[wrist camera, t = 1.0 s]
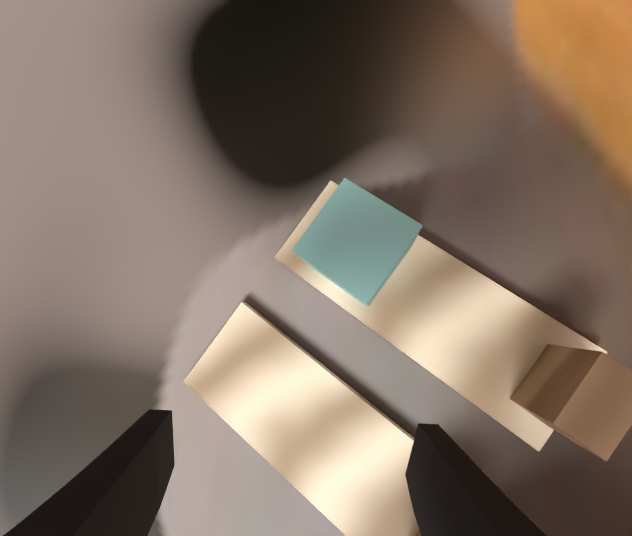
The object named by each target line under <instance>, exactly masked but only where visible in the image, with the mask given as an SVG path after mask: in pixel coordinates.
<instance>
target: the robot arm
mask: <svg viewBox="0 0 632 536" xmlns="http://www.w3.org/2000/svg"><path fill="white" fill-rule="evenodd" d="M173 468H174V447H173V425H172V411H170V410H148V411H147V412H146V413H145V414H144V415H143V416H141V417H140V418H139V419H138V420H137V421H136V422H135V423H134V424H133V425H132V426H131V427H130V428H128V429H127V430H126V431H125V432H124V433H123V434H122V435H121V436H120V437H119V438H118V439H117V440H115V441H114V442H113V443H112V444H111V445H110V446H109V447H108V448H107V449H106V450H105V451H103V452H102V453H101V454H100V455H99V456H98V457H97V458H96V459H94V460H93V461H92V462H91V463H90V464H89V465H88V466H86V467H85V468H84V469H83V470H82V471H81V472H80V473H79V474H77V475H76V476H75V477H74V478H73V479H72V480H71V481H69V482H68V483H67V484H66V485H65V486H63V488H61V489H60V490H59V491H58V492H56V493H55V494H54V495H53V496H51V497H50V498H49V499H48V500H47V501H46V502H44V503H43V504H42V505H41V506H39V507H38V508H37V509H36V510H35V511H33V512H32V513H31V514H30V515H28V516H27V517H26V518H25V519H24V520H23V521H21V522H20V523H19V524H17V525H16V526H15V527H14V528H13V529H11V530H10V531H9V532H7V533H6V534H5V535H3V536H147V535H148V533H149V531H150V528H151V526H152V524H153V522H154V520H155V517H156V515H157V513H158V510H159V508H160V506H161V503H162V500H163V497H164V494H165V491H166V489H167V486H168V483H169V480H170V477H171V474H172V471H173ZM405 476H406V481H407V485H408V490H409V494H410V499H411V503H412V507H413V511H414V515H415V518H416V521H417V524H418V527H419V530H420V533H421V536H546V535H545V534H544V533H543V532H542V531H541V530H540V529H539V528H538V527H537V526H536V525H535V524H534V523H533V522H532V521H531V520H530V519H529V518H528V517H527V516H525V515H524V514H523V513H522V512H521V511H520V510H519V509H518V508H517V507H516V506H515V505H514V504H513V503H512V502H511V501H510V500H509V499H508V498H507V497H506V496H505V495H504V493H503V492H502V491H501V490H500V489H499V488H498V487H497V486H496V485H495V484H494V483H493V482H492V481H491V480H490V479H489V478H488V477H487V476H486V475H485V474H484V473H483V472H482V471H481V470H480V469H479V467H478V466H477V465H476V464H475V463H474V462H473V461H472V460H471V459H470V458H469V457H468V456H467V455H466V454H465V452H464V451H463V450H462V449H461V448H460V447H459V446H458V445H457V444H456V443H455V442H454V441H453V440H452V439H451V437H450V436H449V435H448V434H447V433H446V432H445V431H444V430H443V429H442V428H441V427H440V426H439V425H438V424H419V423H418V427H417V431H416V435H415V439H414V442H413V446H412V450H411V454H410V458H409V461H408V465H407V469H406V473H405Z"/></svg>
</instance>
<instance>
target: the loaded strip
mask: <svg viewBox="0 0 632 536" xmlns="http://www.w3.org/2000/svg"><path fill="white" fill-rule="evenodd" d="M338 186H339V185H337V184H335V183H334V182H332V181H330V182H329V183H328V185H327V186H326V188H325V189H324V190H323V192H322V193H321V194H320V196H319V197H318V199H317V200H316V201H315V203H314V204H313V205H312V207H311V208H310V209H309V211H308V212H307V213H306V215H305V216H304V218H303V219H302V220H301V222H300V223H299V224H298V226H297V227H296V229H295V230H294V231H293V233H292V234H291V235H290V237H289V238H288V239H287V241H286V242H285V244H284V245H283V246H282V248H281V249H280V250H279V252H278V253H277V254H276V256H275V257H274V258H276V259H277V260H278V261H280V262H281V263H282V264H284V265H285V266H287V267H288V268H289V269H291V270H292V271H293V272H295V273H296V274H297V275H299V276H300V277H302V278H303V279H304V280H306V281H307V282H308V283H310V284H311V285H312V286H314V287H315V288H317V289H318V290H319V291H321V292H322V293H323V294H325V295H326V296H327V297H329V298H330V299H331V300H333V301H334V302H336V303H337V304H338V305H340V306H341V307H342V308H344V309H345V310H346V311H348V312H349V313H351V314H352V315H353V316H355V317H356V318H357V319H359V320H360V321H361V322H363V323H364V324H366V325H367V326H368V327H370V328H371V329H372V330H374V331H375V332H376V333H378V334H379V335H381V336H382V337H383V338H385V339H386V340H387V341H389V342H390V343H391V344H393V345H394V346H396V347H397V348H398V349H400V350H401V351H402V352H404V353H405V354H406V355H408V356H409V357H410V358H412V359H413V360H415V361H416V362H417V363H419V364H420V365H421V366H423V367H424V368H425V369H427V370H428V371H430V372H431V373H432V374H434V375H435V376H436V377H438V378H439V379H440V380H442V381H443V382H445V383H446V384H447V385H449V386H450V387H451V388H453V389H454V390H455V391H457V392H458V393H460V394H461V395H462V396H464V397H465V398H466V399H468V400H469V401H470V402H472V403H473V404H474V405H476V406H477V407H479V408H480V409H481V410H483V411H484V412H485V413H487V414H488V415H489V416H491V417H492V418H494V419H495V420H496V421H498V422H499V423H500V424H502V425H503V426H504V427H506V428H507V429H509V430H510V431H511V432H513V433H514V434H515V435H517V436H518V437H519V438H521V439H522V440H524V441H525V442H526V443H528V444H529V445H530V446H532V447H533V448H534V449H536V450H537V451H540V450H541V448H542V447H543V445H544V444H545V443H546V441H547V440H548V438H549V437H550V435H551V434H552V432H553V431H554V430H555V431H557V432H558V433H560V434H562V435H563V436H565V437H567V438H568V439H570V440H572V441H573V442H575V443H577V444H578V445H580V446H582V447H583V448H585V449H587V450H588V451H590V452H592V453H593V454H595V455H597V456H598V457H600V458H602V459H603V460H605V461H606V462H607V461H608V459H609V458H610V456H611V455H612V453H613V452H614V450H615V449H616V447H617V446H618V444H619V443H620V441H621V440H622V438H623V437H624V435H625V434H626V432H627V431H628V429H629V428H630V426H631V425H632V370H631V369H629V368H628V367H626V366H625V365H623V364H621V363H620V362H618V361H617V360H615V359H613V358H612V357H610V356H609V355H607V354H606V353H607V351H605V350H603V349H602V348H600V347H598V346H597V345H595V344H594V343H592V342H590V341H589V340H587V339H586V338H584V337H582V336H581V335H579V334H577V333H576V332H574V331H573V330H571V329H569V328H568V327H566V326H565V325H563V324H561V323H560V322H558V321H557V320H555V319H553V318H552V317H550V316H548V315H547V314H545V313H544V312H542V311H540V310H539V309H537V308H536V307H534V306H532V305H531V304H529V303H527V302H526V301H524V300H523V299H521V298H519V297H518V296H516V295H515V294H513V293H511V292H510V291H508V290H507V289H505V288H503V287H502V286H500V285H498V284H497V283H495V282H494V281H492V280H490V279H489V278H487V277H486V276H484V275H482V274H481V273H479V272H477V271H476V270H474V269H473V268H471V267H469V266H468V265H466V264H465V263H463V262H461V261H460V260H458V259H457V258H455V257H453V256H452V255H450V254H448V253H447V252H445V251H444V250H442V249H440V248H439V247H437V246H436V245H434V244H432V243H431V242H429V241H427V240H426V239H424V238H423V237H421V236H419V235H418V236H417V238H416V239H415V241H414V243H413V245H412V247H411V248H410V250H409V251H408V252H407V254H406V255H405V257H404V258H403V259H402V261H401V262H400V264H399V265H398V266H397V268H396V269H395V271H394V272H393V273H392V275H391V276H390V278H389V279H388V280H387V282H386V283H385V285H384V286H383V287H382V289H381V290H380V292H379V293H378V294H377V296H376V297H375V299H374V300H373V301H372V303H371V304H370V306H369V307H366V306H365V305H363V304H362V303H361V302H359V301H358V300H356V299H355V298H354V297H352V296H351V295H349V294H348V293H347V292H345V291H344V290H343V289H341V288H340V287H338V286H337V285H336V284H334V283H333V282H331V281H330V280H329V279H327V278H326V277H324V276H323V275H322V274H320V273H319V272H317V271H316V270H315V269H313V268H312V267H310V266H309V265H308V264H307V263H306V262H305V261H303V260H302V259H301V258H300V257H299V256H298V255H296V254H295V253H294V252H293V251H292V249H293V248H294V246H295V245H296V243H297V242H298V241H299V239H300V238H301V237H302V235H303V234H304V232H305V231H306V230H307V228H308V227H309V226H310V224H311V223H312V222H313V220H314V219H315V217H316V216H317V215H318V213H319V212H320V211H321V209H322V208H323V206H324V205H325V204H326V202H327V201H328V200H329V198H330V197H331V196H332V194H333V193H334V191H335V190H336V189H337V187H338Z"/></svg>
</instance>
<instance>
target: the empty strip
mask: <svg viewBox="0 0 632 536" xmlns="http://www.w3.org/2000/svg"><path fill="white" fill-rule="evenodd" d="M184 382H185V383H186V384H187V385H188V386H189V387H190V388H191V389H192V390H193V391H194V392H195V393H196V394H197V395H198V396H199V397H200V398H201V399H202V400H203V401H205V402H206V403H207V404H208V405H209V406H210V407H211V408H212V409H213V410H214V411H215V412H216V413H217V414H218V415H219V416H220V417H221V418H222V419H224V420H225V421H226V422H227V423H228V424H229V425H230V426H231V427H232V428H233V429H234V430H235V431H236V432H237V433H238V434H239V435H240V436H241V437H242V438H244V439H245V440H246V441H247V442H248V443H249V444H250V445H251V446H252V447H253V448H254V449H255V450H256V451H257V452H258V453H259V454H260V455H261V456H262V457H264V458H265V459H266V460H267V461H268V462H269V463H270V464H271V465H272V466H273V467H274V468H275V469H276V470H277V471H278V472H279V473H280V474H281V475H283V476H284V477H285V478H286V479H287V480H288V481H289V482H290V483H291V484H292V485H293V486H294V487H295V488H296V489H297V490H298V491H299V492H300V493H301V494H303V495H304V496H305V497H306V498H307V499H308V500H309V501H310V502H311V503H312V504H313V505H314V506H315V507H316V508H317V509H318V510H319V511H320V512H322V513H323V514H324V515H325V516H326V517H327V518H328V519H329V520H330V521H331V522H332V523H333V524H334V525H335V526H336V527H337V528H338V529H339V530H340V531H342V532H343V533H344V534H345V535H346V536H421V533H420V530H419V527H418V524H417V521H416V518H415V515H414V511H413V507H412V503H411V499H410V494H409V490H408V485H407V481H406V476H405V473H406V469H407V465H408V461H409V458H410V454H411V450H412V446H413V442H414V439H415V438H414V437H412V436H411V435H410V434H409V433H407V432H406V431H405V430H404V429H402V428H401V427H400V426H399V425H397V424H396V423H395V422H394V421H392V420H391V419H390V418H389V417H387V416H386V415H385V414H384V413H383V412H381V411H380V410H379V409H378V408H376V407H375V406H374V405H373V404H371V403H370V402H369V401H368V400H366V399H365V398H364V397H363V396H361V395H360V394H359V393H358V392H356V391H355V390H354V389H353V388H351V387H350V386H349V385H348V384H346V383H345V382H344V381H343V380H341V379H340V378H339V377H338V376H336V375H335V374H334V373H333V372H331V371H330V370H329V369H328V368H327V367H325V366H324V365H323V364H322V363H320V362H319V361H318V360H317V359H315V358H314V357H313V356H312V355H310V354H309V353H308V352H307V351H305V350H304V349H303V348H302V347H300V346H299V345H298V344H297V343H295V342H294V341H293V340H292V339H290V338H289V337H288V336H287V335H285V334H284V333H283V332H282V331H280V330H279V329H278V328H277V327H275V326H274V325H273V324H272V323H271V322H269V321H268V320H267V319H266V318H264V317H263V316H262V315H261V314H259V313H258V312H257V311H256V310H254V309H253V308H252V307H251V306H249V305H248V304H247V303H244V302H241V304H240V305H239V306H238V308H237V309H236V310H235V312H234V313H233V315H232V316H231V317H230V319H229V320H228V321H227V323H226V324H225V326H224V327H223V328H222V330H221V331H220V332H219V334H218V335H217V336H216V338H215V339H214V341H213V342H212V343H211V345H210V346H209V347H208V349H207V350H206V351H205V353H204V354H203V356H202V357H201V358H200V360H199V361H198V362H197V364H196V365H195V367H194V368H193V369H192V371H191V372H190V373H189V375H188V376H187V377H186V379H185V380H184Z"/></svg>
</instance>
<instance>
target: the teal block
mask: <svg viewBox="0 0 632 536" xmlns="http://www.w3.org/2000/svg"><path fill="white" fill-rule="evenodd" d="M422 227H423V225H422V224H420V223H418V222H417V221H415V220H413V219H412V218H410V217H408V216H407V215H405V214H403V213H402V212H400V211H399V210H397V209H395V208H394V207H392V206H390V205H389V204H387V203H385V202H384V201H382V200H380V199H379V198H377V197H376V196H374V195H372V194H371V193H369V192H367V191H366V190H364V189H362V188H361V187H359V186H357V185H356V184H354V183H353V182H351V181H349V180H347V179H346V178H344V179H343V181H342V182H341V183H340V185H339V186H338V187H337V189H336V190H335V191H334V193H333V194H332V196H331V197H330V198H329V200H328V201H327V202H326V204H325V205H324V206H323V208H322V209H321V211H320V212H319V213H318V215H317V216H316V217H315V219H314V220H313V222H312V223H311V224H310V226H309V227H308V228H307V230H306V231H305V232H304V234H303V235H302V237H301V238H300V239H299V241H298V242H297V243H296V245H295V246H294V248H293V249H292V251H293V252H294V253H295V254H296V255H298V256H299V257H300V258H301V259H302V260H303V261H305V262H306V263H307V264H308V265H309V266H310V267H312V268H313V269H315V270H316V271H317V272H319V273H320V274H322V275H323V276H324V277H326V278H327V279H329V280H330V281H331V282H333V283H334V284H336V285H337V286H338V287H340V288H341V289H343V290H344V291H345V292H347V293H348V294H349V295H351V296H352V297H354V298H355V299H356V300H358V301H359V302H361V303H362V304H363V305H365V306H366V307H369V306H370V304H371V303H372V301H373V300H374V299H375V297H376V296H377V294H378V293H379V292H380V290H381V289H382V287H383V286H384V285H385V283H386V282H387V280H388V279H389V278H390V276H391V275H392V273H393V272H394V271H395V269H396V268H397V266H398V265H399V264H400V262H401V261H402V259H403V258H404V257H405V255H406V254H407V252H408V251H409V250H410V248H411V247H412V245H413V243H414V241H415V239H416V238H417V236H418V234H419V232H420V230H421V228H422Z"/></svg>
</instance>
